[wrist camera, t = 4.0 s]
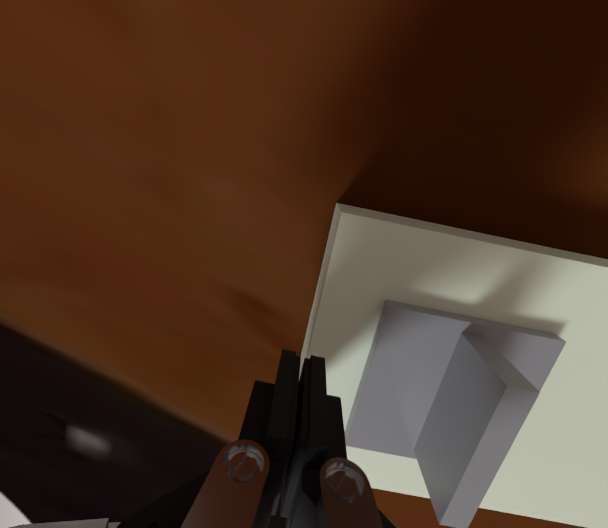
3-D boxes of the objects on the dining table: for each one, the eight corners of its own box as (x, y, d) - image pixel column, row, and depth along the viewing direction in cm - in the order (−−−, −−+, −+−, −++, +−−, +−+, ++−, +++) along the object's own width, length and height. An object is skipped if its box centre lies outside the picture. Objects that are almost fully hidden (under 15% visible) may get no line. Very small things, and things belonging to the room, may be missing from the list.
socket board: (336, 202, 14) (341, 212, 11) (747, 288, 15) (851, 318, 12) (285, 422, 18) (279, 470, 15) (610, 483, 19) (664, 541, 16)
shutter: (385, 299, 12) (412, 351, 9) (554, 333, 12) (646, 398, 9) (343, 434, 14) (352, 519, 11) (488, 462, 15) (541, 553, 11)
